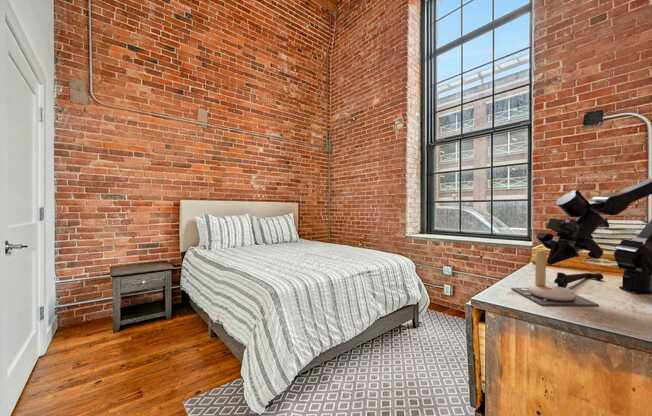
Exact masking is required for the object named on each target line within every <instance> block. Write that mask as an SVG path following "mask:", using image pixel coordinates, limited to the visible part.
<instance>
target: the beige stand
mask: <svg viewBox="0 0 652 416" xmlns="http://www.w3.org/2000/svg"><path fill="white" fill-rule="evenodd" d="M534 268H535V278H534V279H535V281H534V284H531V285H528V286H529V287H528V288H529V292H530V293H531V294H533V295H535V296H538V297H542V298H546V299H552V300H561V301H569V300H574V299H575V295H576V291H574V290H573V289H570V288H568V287H566V288H563V287H559V286H558V285H553V284H552V285H551V284H546V283H547V280H546V277H547V275H546V272H547V269H546V268H547V250H544V249H535V267H534Z"/></svg>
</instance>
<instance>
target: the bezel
mask: <svg viewBox="0 0 652 416" xmlns="http://www.w3.org/2000/svg"><path fill="white" fill-rule="evenodd" d="M510 289H511V290H512V289H513V290H512V291H514V290H515V291H514V292H516V293H517V292H518V293H517V294H519V295H521V296H523V297H525V298H527V299H529V300H531V301H532V302H534V303H536V304H538V305H540V306H541V307H543V306H544V307H600V304H599V303H596V302H594V301H593V300H592V301H591V299H590V300H589V299H587V298H585V297H582V296H580V295H578V294H575V299H574V300H569V301H561V300H552V299H546V298H542V297H538V296H535V295H533V294H531V293H530V292H529V287H511V288H510Z"/></svg>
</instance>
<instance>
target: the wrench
mask: <svg viewBox="0 0 652 416" xmlns="http://www.w3.org/2000/svg"><path fill="white" fill-rule="evenodd" d="M583 279H595V280H597V281H601V280H604V275H603V274H602V273H600V272H597V273H593V272H592V273H591V272H584V273H575V274H572V273H571V274H566V273H565V272H557V274H556V278H554V280H553V281H554V282H553V283H555V284H557V285H556V286H559V287H563V288H568V284H571V283H573V282H577V281H580V280H583Z"/></svg>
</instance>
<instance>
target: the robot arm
mask: <svg viewBox="0 0 652 416" xmlns="http://www.w3.org/2000/svg"><path fill="white" fill-rule="evenodd" d="M651 195H652V176H651V177H648V178H647V179H645V180H642V181H640V182H638V183H636V184H633V185H631V186H628V187H626V188H624V189H622V190H619V191H616V192H612V193H611V192H610V193H605V194H602V195H601V194H600V195H596V196H594V197H592V198H591V199H590V200H588V199H587V198H585V197H584V195H583V194H582V193H581V192H580V191H579V190H577V189H576V190H575V189H573V190H571V191H569V192H568V193H565V194H564V195H562V196H559V198H557V200H556V201H555V204H556V205H557V206H558V207H559V208H560V209H561V211H563V212H564V213H565V214H566V215H567V216H568V217H569V218H567V219H566V220H565V219H559V218H552V217H551V218H549V219H548V220H549V221H548V223H547V225H546V228H547V229H548V230H551V231H553V232H555V233H554V234H555V236H554V234H553V233H549V232H539V233H538V234H537V235H536V236H535V238H536V239H537V240H538V241H539V242H540V243H541V244H542V245H543V246H544V248H546V249H547V250H550V251H549V252H548V253H549V255H548V257H547V258H546V264H547V265H550V266H552V265H555V264H557V263H561V262H563V261H567V260H569V259H574V258H579V257H580V254H579V253H581V252H583V251H588V253H587V256H588V257H589V258H590V259H595V260H600V259H601V257H602V256H603V255H604V249H602V248H601V247H600V245H599V244H598V243H597V242H596V241H595V239H594V236H593V233H595V232H596V231H597V229H598V228H610V223H609V220H608V218H604V217H603V216H617V215H619V214H621V213H622V212H624V211H626V210H627V209H628V208H629V206H630V205H631V204H632V203H634V202H636V201H637V202H638V201H639V200H641V199H644V198H646V197H648V196H651ZM573 218H575V219H573ZM614 250H615V251H614V252H613V257H614V260H615V262H616V264H617V266H618V269H621V270H623V275H622V285H621V286H618V288H619V289H621V290H624V291H627V292H630V293H634V294H635V295H652V218H651V219H650V220H649V222H648V223H647V224H646V225H645V226H644V227H643V229H642V230H641V231H640V232H639V234H637V236H636V237H635V238H633V239H627V238H624V239H622V240H621V241H620V243H619V244H618V245H617V246H616V247H614Z"/></svg>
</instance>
